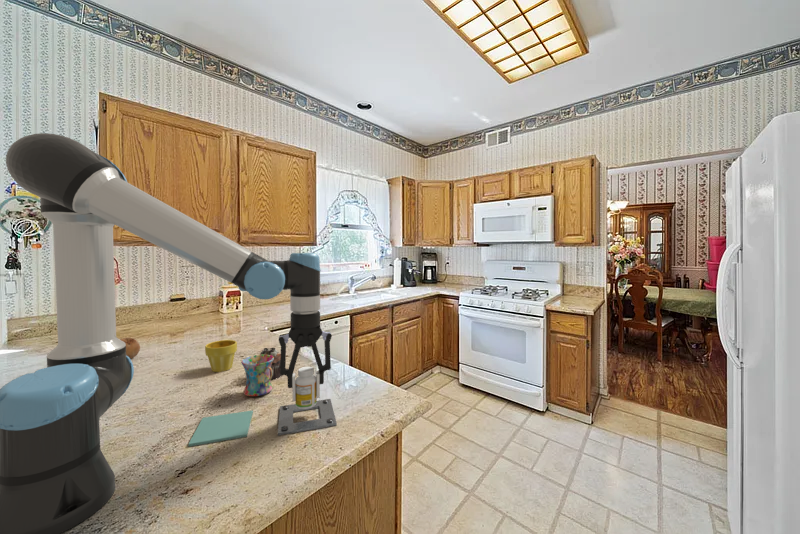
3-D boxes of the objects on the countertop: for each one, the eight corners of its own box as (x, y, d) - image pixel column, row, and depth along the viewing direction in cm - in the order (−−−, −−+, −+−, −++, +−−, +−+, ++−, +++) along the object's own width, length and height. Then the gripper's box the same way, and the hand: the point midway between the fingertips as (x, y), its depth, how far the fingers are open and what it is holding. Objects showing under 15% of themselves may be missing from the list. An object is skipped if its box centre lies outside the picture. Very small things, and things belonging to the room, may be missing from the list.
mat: (246, 436, 75) (246, 434, 75) (188, 446, 71) (188, 444, 71) (252, 412, 86) (252, 410, 86) (202, 419, 82) (202, 417, 82)
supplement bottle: (306, 398, 87) (306, 364, 87) (320, 403, 85) (320, 367, 84) (291, 406, 83) (290, 370, 82) (305, 411, 80) (305, 374, 80)
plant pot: (224, 375, 112) (223, 348, 112) (199, 373, 114) (198, 347, 113) (243, 365, 123) (242, 340, 122) (219, 363, 124) (219, 339, 124)
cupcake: (285, 379, 109) (285, 350, 109) (255, 383, 105) (254, 354, 105) (285, 369, 118) (284, 343, 117) (256, 373, 114) (256, 346, 114)
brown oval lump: (136, 365, 130) (147, 344, 130) (107, 366, 122) (118, 343, 122) (131, 353, 135) (141, 332, 135) (103, 353, 128) (113, 331, 127)
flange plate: (336, 425, 80) (336, 421, 80) (277, 435, 75) (277, 432, 75) (330, 400, 93) (330, 397, 93) (280, 408, 88) (280, 405, 88)
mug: (236, 394, 97) (235, 360, 97) (263, 383, 105) (262, 352, 105) (258, 404, 91) (257, 368, 90) (285, 392, 98) (285, 359, 98)
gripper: (338, 307, 89) (338, 387, 90) (268, 310, 83) (269, 396, 84) (342, 312, 82) (342, 398, 83) (266, 316, 76) (267, 409, 77)
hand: (306, 397), depth 84 cm, fingers closed on supplement bottle, 5 cm apart
